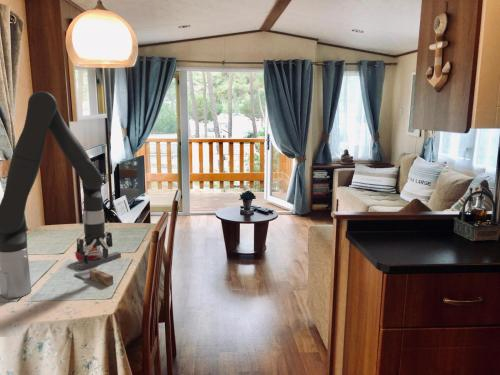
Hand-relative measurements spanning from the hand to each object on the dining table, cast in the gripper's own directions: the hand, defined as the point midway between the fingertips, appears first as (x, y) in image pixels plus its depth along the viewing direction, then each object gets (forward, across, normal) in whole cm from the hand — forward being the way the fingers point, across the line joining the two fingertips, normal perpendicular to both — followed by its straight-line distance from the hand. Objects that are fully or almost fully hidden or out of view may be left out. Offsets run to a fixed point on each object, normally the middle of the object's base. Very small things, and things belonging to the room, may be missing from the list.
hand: (95, 260), depth 165 cm
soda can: (+1, +13, +14) cm, 20 cm away
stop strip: (+8, +12, +16) cm, 22 cm away
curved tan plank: (+8, 0, +1) cm, 8 cm away
